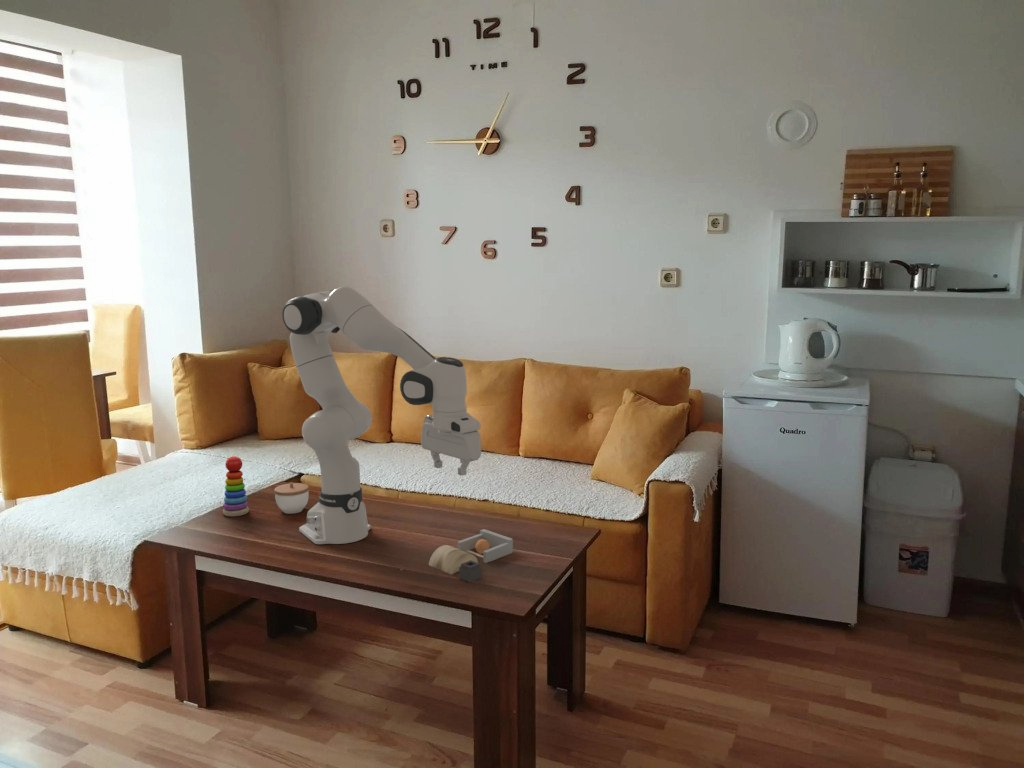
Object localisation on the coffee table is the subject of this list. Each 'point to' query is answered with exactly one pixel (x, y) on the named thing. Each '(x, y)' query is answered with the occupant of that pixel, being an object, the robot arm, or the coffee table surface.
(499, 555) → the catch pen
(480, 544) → the ball
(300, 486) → the lidded jar
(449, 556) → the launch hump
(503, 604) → the coffee table surface
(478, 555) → the line
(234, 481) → the stacking toy
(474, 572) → the cube with raised frame
